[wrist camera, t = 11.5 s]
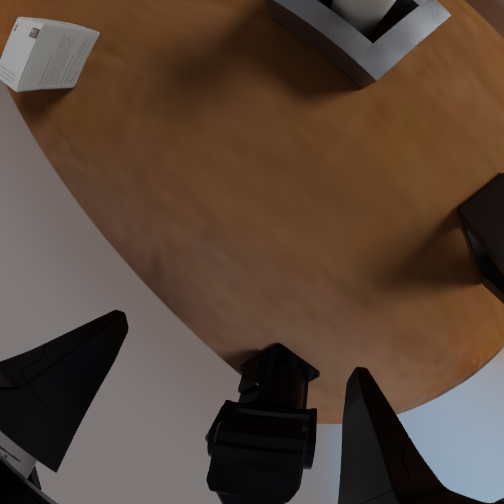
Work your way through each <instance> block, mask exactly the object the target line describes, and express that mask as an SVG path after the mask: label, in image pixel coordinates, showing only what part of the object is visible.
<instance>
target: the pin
mask: <svg viewBox="0 0 504 504" xmlns="http://www.w3.org/2000/svg"><path fill="white" fill-rule="evenodd" d="M395 1H396V0H332V3H331V9H330V10H332V11H333V12H334V13H336V14H337V15H339V16H340V17H341V18H342V19H344V20H345V21H346V22H348V23H349V24H350V25H351V26H353V27H354V28H355V29H356V30H358V31H359V32H360V33H361V34H362V35H363V36H365V37H367V36H369V35H370V34H371V33H372V32H373V30H374V29H375V28H376V26H377V25H378V24H379V22H380V21H381V20H382V18H383V17H384V16H385V14H386V13H387V12H388V10H389V9H390V8H391V6H392V5H393V4H394V2H395Z"/></svg>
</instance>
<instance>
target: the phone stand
mask: <svg viewBox="0 0 504 504" xmlns="http://www.w3.org/2000/svg"><path fill="white" fill-rule="evenodd" d="M457 210H458V213H459V215H460V218H461V220H462V223H463V225H464V228H465V231H466V233H467V236H468V239H469V242H470V245H471V248H472V249H473V254H474V257H475V260H476V263H477V267H478V270H479V274H480V277H481V281H482V284H483V285H484V286H485V287H486V288H487V289H488V290H489V291H490V292H492V293H493V294H494V295H495V296H496V297H497V298H498V299H499V300H500V301H501V302H502V303H504V173H502V174H501V175H500V176H498V177H497V178H496V179H495V180H494V181H493V182H491V183H490V184H489V185H488V186H486V187H485V188H484V189H483V190H481V191H480V192H479V193H478V194H476V195H475V196H474V197H473V198H471V199H470V200H469V201H468V202H466V203H465V204H464V205H462V206H461V207H460V208H458V209H457Z"/></svg>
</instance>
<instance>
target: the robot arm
mask: <svg viewBox="0 0 504 504" xmlns="http://www.w3.org/2000/svg"><path fill="white" fill-rule="evenodd" d="M127 333H128V323H127V319H126V315H125V313H124V312H122V311H119V310H114V311H112V312H110V313H108V314H106V315H103V316H101V317H99V318H97V319H95V320H93V321H91V322H89V323H86V324H84V325H82V326H80V327H78V328H76V329H74V330H72V331H70V332H68V333H66V334H64V335H62V336H59V337H57V338H55V339H53V340H51V341H49V342H47V343H45V344H43V345H41V346H39V347H37V348H34V349H33V350H30V351H27V352H25V353H22V354H20V355H17V356H14V357H12V358H9V359H6V360H3V361H1V362H0V504H58V503H56V502H55V501H54V500H52V499H51V498H50V497H48V496H47V495H46V494H44V493H43V492H42V491H41V486H40V482H39V479H38V475H37V471H36V467H35V464H36V462H37V460H38V461H39V462H40V463H42V464H44V465H45V466H47V467H48V468H49V469H51V470H52V471H54V472H57V471H58V469H59V466H60V464H61V462H62V460H63V458H64V456H65V454H66V452H67V449H68V448H69V445H70V443H71V441H72V439H73V436H74V435H75V433H76V431H77V429H78V427H79V425H80V423H81V421H82V419H83V418H84V416H85V414H86V412H87V410H88V408H89V406H90V404H91V402H92V400H93V399H94V397H95V395H96V393H97V391H98V390H99V388H100V386H101V384H102V383H103V381H104V379H105V377H106V375H107V374H108V372H109V370H110V368H111V367H112V365H113V363H114V361H115V359H116V357H117V355H118V352H119V350H120V348H121V346H122V343H123V341H124V339H125V337H126V335H127ZM278 348H280V349H278ZM240 371H241V372H243V374H242V378H241V381H240V384H239V388H238V392H239V393H241V394H240V398H239V401H238V402H232V401H230V400H226V401H225V403H224V405H223V406H222V407H221V409H220V411H219V413H218V415H217V417H216V419H215V420H214V422H213V424H212V426H211V428H210V430H209V432H208V434H207V435H206V437H205V439H206V441H207V443H208V446H207V448H208V454H209V456H210V457H211V462H210V467H209V471H208V475H207V479H206V480H207V483H208V486H209V489H210V490H211V491H214V492H216V493H217V494H218V496H219V498H220V500H221V502H222V504H285V503H286V502H289V501H290V500H291V499H292V497H293V496H294V495H295V494H296V492H297V491H298V490H299V488H300V484H301V479H302V473H303V469H311V467H312V464H313V458H314V452H315V444H316V425H317V408H311V409H306V406H307V395H308V382H310V381H312V380H314V379H316V378H318V377H319V376H320V372H319V371H318V370H317V369H315V368H314V367H312V366H311V365H310V364H308V363H307V362H306V361H304V360H303V359H301V358H300V357H299V356H297V355H296V354H295V353H293V352H292V351H290V350H289V349H288V348H286V347H285V346H284V345H282V344H276V345H275V346H273V347H271V348H270V349H268V350H266V351H265V352H263V353H260V354H258V355H257V356H255V357H253V358H252V359H250V360H248V361H247V362H246V363H245V364H243V365H241V367H240ZM338 504H504V498H502V499H500V500H498V501H496V502H494V503H485V502H481V501H478V500H475V499H471V498H469V497H466V496H463V495H461V494H458V493H455V492H453V491H450V490H449V489H447V488H446V487H444V485H443V484H442V483H441V482H440V481H439V480H438V478H437V477H436V476H435V474H434V473H433V472H432V470H431V469H430V467H429V466H428V465H427V463H426V462H425V461H424V459H423V458H422V456H421V455H420V454H419V452H418V450H417V449H416V447H415V446H414V444H413V442H412V441H411V439H410V438H409V436H408V434H407V432H406V431H405V429H404V427H403V425H402V424H401V422H400V421H399V419H398V417H397V416H396V414H395V412H394V411H393V409H392V407H391V406H390V404H389V402H388V401H387V399H386V398H385V396H384V394H383V393H382V391H381V390H380V388H379V386H378V385H377V383H376V382H375V380H374V378H373V377H372V375H371V374H370V372H369V370H368V369H367V368H364V367H356V368H355V369H354V371H353V373H352V374H351V376H350V377H349V379H348V382H347V387H346V396H345V405H344V412H343V424H342V456H341V473H340V486H339V498H338Z"/></svg>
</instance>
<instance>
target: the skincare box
mask: <svg viewBox="0 0 504 504" xmlns="http://www.w3.org/2000/svg"><path fill="white" fill-rule="evenodd" d="M99 35H100V33H99V32H97V31H94V30H92V29H89V28H86V27H83V26H80V25H76V24H72V23H67V22H61V21H55V20H48V19H39V18H28V17H18V19H17V21H16V23H15V25H14V27H13V29H12V32H11V34H10V37H9V39H8V41H7V44H6V46H5V49H4V51H3V54H2V57H1V59H0V80H1V81H3V82H4V83H5V84H6V85H8V86H9V87H10V88H12V89H13V90H14V91H16V92H22V91H32V90H44V89H60V88H73V87H74V86H75V85H76V82H77V80H78V78H79V76H80V73H81V71H82V69H83V67H84V64H85V62H86V60H87V58H88V56H89V54H90V52H91V50H92V48H93V46H94V44H95V42H96V40H97V39H98V37H99Z"/></svg>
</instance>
